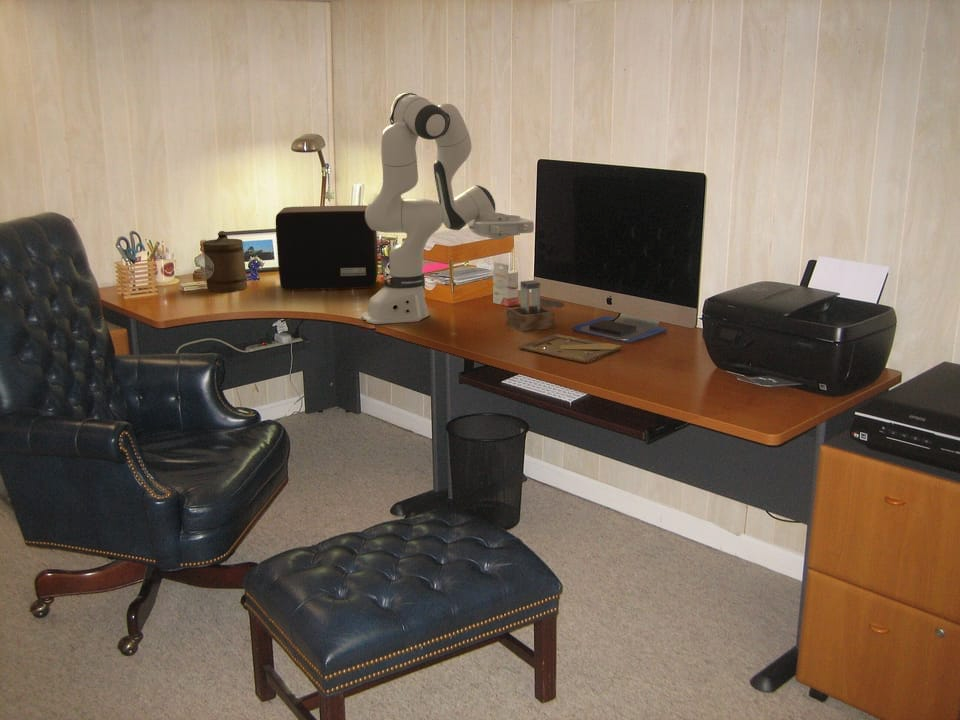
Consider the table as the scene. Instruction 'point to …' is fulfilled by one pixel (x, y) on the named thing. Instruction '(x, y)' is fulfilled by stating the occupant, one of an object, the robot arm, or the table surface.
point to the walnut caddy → (530, 319)
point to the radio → (326, 248)
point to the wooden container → (224, 264)
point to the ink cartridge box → (505, 285)
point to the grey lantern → (534, 297)
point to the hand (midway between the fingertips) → (513, 229)
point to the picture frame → (571, 348)
